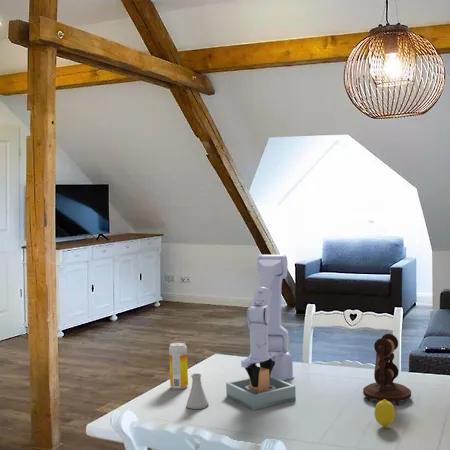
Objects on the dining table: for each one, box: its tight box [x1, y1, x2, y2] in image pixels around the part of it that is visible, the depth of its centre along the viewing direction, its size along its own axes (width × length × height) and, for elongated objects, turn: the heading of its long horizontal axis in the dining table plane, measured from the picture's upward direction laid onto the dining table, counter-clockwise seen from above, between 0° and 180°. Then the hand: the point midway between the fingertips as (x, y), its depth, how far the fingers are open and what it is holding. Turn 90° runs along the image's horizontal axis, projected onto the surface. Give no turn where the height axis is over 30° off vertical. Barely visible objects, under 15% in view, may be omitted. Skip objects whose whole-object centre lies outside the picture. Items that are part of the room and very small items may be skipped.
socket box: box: [225, 376, 297, 411], centre depth 210 cm, size 16×16×4 cm
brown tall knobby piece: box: [362, 333, 412, 406], centre depth 206 cm, size 15×15×20 cm
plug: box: [250, 367, 270, 392], centre depth 210 cm, size 4×4×7 cm
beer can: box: [168, 341, 189, 390], centre depth 224 cm, size 6×6×15 cm
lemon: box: [374, 399, 396, 428], centre depth 182 cm, size 6×6×8 cm
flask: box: [185, 372, 209, 410], centre depth 205 cm, size 7×7×10 cm
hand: (260, 384), depth 210 cm, fingers closed on plug, 4 cm apart
